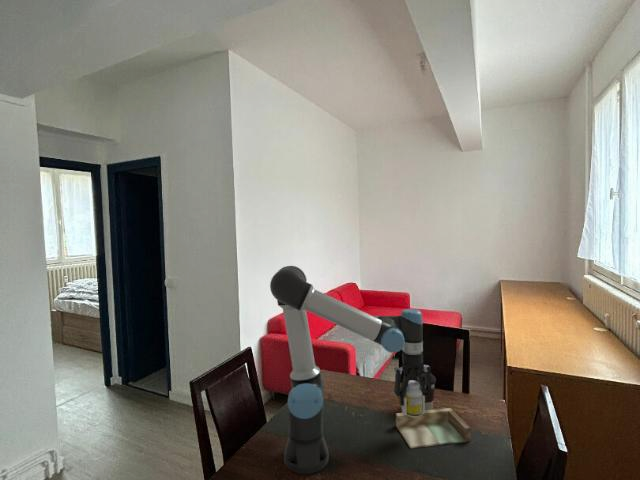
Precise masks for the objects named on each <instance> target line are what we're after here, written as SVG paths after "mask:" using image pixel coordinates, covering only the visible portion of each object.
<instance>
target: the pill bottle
mask: <svg viewBox="0 0 640 480" xmlns="http://www.w3.org/2000/svg"><path fill="white" fill-rule="evenodd" d="M419 387H420V385H419V382H417V381H414V380H412V379H410V380H409V383H408V386H407V389H406V393H405V397H406V404H407V415H408V416H410V417H419V416H421V415H422V391H421V390H420V389H419Z"/></svg>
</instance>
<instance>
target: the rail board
mask: <svg viewBox="0 0 640 480" xmlns="http://www.w3.org/2000/svg"><path fill="white" fill-rule="evenodd" d="M395 426H396V428H397V430H398V431H399V433H400V435H401V436H402V437H403V439H404V440H405V442H406V444H407V445H408V447H409V448H410V449H418V448H425V447H436V446H441V445H442V446H443V445H449V444H451V445H452V444H458V443H467V442H471V439H472V438H471V437H472V436H471V432H472V431H471V427H470V426H469V425H468V424H467V422H466V421H465V420H464V419H462V418H461V417H460V416H459V415H458V414H457V413H456V412H455V411H454V410H453V409H452V408H450V407H446V408H444V407H443V408H437V409H434V408H433V409H432V410H425V413H422V415H421V416H419V417H410V416H408V415H404V414H403V412H398V413H395Z"/></svg>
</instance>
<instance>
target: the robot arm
mask: <svg viewBox="0 0 640 480" xmlns="http://www.w3.org/2000/svg"><path fill="white" fill-rule="evenodd" d="M307 280H308V279H307V276H306V274H305V272H304V271H303V270H302V269H301V268H300V267H298V266H295V265H287V266H283V267H281V268H280V269H279V270H277V272H275V273H274V275H273V276H272V277H271V279H270V283H269V287H270V288H269V289H270V292H271V294H272V296H273V298H274V299H275V300H276V303H277V306H278V307H280V308H281V309H282V312H283V319H284V325H285V330H286V336H287V342H288V347H289V348H288V349H289V354H290V360H291V367H292V371H291V372H290V374H289V379H290V384H291V390H290V391H289V392H288V397H287V409H288V412H287V413H288V439H287V442H286V447H285V449H284V452H283V459H284V464H285V467H286V468H287V469H288V470H289V471H291V472H293V473H296V474H299V475H310V474H311V475H312V474H314V473H317V472H320V471H322V470H324V468H325V467H327V465H328V463H329V460H330V459H329V455H330V453H329V449H328V445H327V443H326V440H325V437H324V393H325V382H324V380H323V378H322V374H321V369H320V367H319V366H318V365H316V362H315V356H314V349H313V345H312V344H313V343H312V339H311V333H310V327H309V326H310V325H309V321H308V314H307V312H308V313H311V314H314V315H315V316H318V317H320V318H322V319H324V320H327V321H329V322H331V323H333V324H336V325H337V326H340V327H342V328H343V329H346V330H348V331H351V333H355V334H357V335H359V336H361V337H363V338H365V339H368V340H370V341H372V342H374V343H376V344H378V345H380V346H381V347H382V348H383V349H384V350H385V351H386V352H388V353H393V354H394V353H398V352H401V358H402V360H401V361H402V363H401V367H394V369H393V370H394V373H395V376H394V377H395V379H394V388H393V389H394V394H395V396H397V397H399V405H400V407H401V413H403V414H404V415H407V404H406V397H405V393H406V389H407V386H408V383H409V381H410V380H412V377H417V380H418V382H419V385H420V388H421V391H422V413H425V403H427V396H428V393H431V392H432V388H431V378H430V373H431V370H432V367H431V366H429V365H428V364H424V353H423V352H424V347H423V345H424V341H423V330H424V329H423V328H424V327H423V325H424V323H423V314H422V312H421V311H420V310H419V309H416V308H415V309H414V308H407V309H406V308H405V309H402V311H401V314H400V315H375V316H373V315H371V314H369V313H367V312H365V311H363V310H360V309H359V308H356V307H354V306H352V305H349V304H347V303H346V302H343V301H341V300H339V299H336V298H334V297H332V296H330V295H329V294H326V293H323V292H321V291H320V290H317V289H315V288H314V286H313V284H312V283H309V282H308V281H307ZM422 370H424V375H425V385H426V388H425V385H424V382H423V380H422V376H421V372H422ZM402 372H404V373H402ZM402 374H403V378H402Z"/></svg>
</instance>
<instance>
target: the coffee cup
mask: <svg viewBox="0 0 640 480" xmlns="http://www.w3.org/2000/svg"><path fill="white" fill-rule="evenodd" d="M421 376H422V380H423V382H424V385H425V375H424V369H423V370H422V372H421ZM430 378H431V388H432V392H431V393H428V396H427V403H425V410H434V408H433V407H434V400H435V391H436V387H435V384H436V383H437V378H436V376H435V375H434V374H433V373H431V372H430ZM411 380H414V381H417V382H418V380H417V377H411ZM425 388H426V385H425ZM419 389H420V390H421V388H420V387H419Z"/></svg>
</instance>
